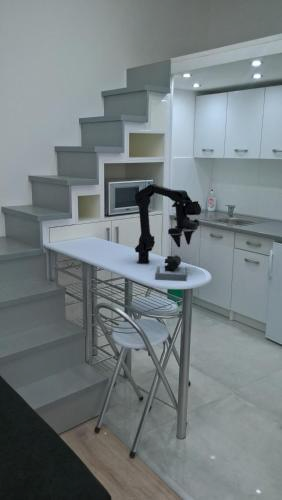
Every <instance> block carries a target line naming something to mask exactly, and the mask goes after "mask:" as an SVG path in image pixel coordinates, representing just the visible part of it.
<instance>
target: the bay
mask: <svg viewBox="0 0 282 500" xmlns="http://www.w3.org/2000/svg"><path fill="white" fill-rule="evenodd" d="M187 273H188V267H184V273H164V272H160V266H157V268H156V270H155V274H154V280H155V281H156V280H158V281H159V280H160V281H179V282H186V281H187V275H188V274H187Z"/></svg>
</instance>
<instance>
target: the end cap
mask: <svg viewBox="0 0 282 500" xmlns="http://www.w3.org/2000/svg"><path fill="white" fill-rule="evenodd" d="M181 263H182V258H181V257H180V255H177V254H175V255H173V256H172V255H167V256H166V258H165V259H164V272H173V273H174V272H175V271H176V270H177V269H178V268H179V266H180V265H181ZM165 264H166V265H165Z"/></svg>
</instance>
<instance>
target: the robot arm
mask: <svg viewBox="0 0 282 500" xmlns="http://www.w3.org/2000/svg"><path fill="white" fill-rule="evenodd" d="M155 194H156V195H160V196H164V197H167V198H169V200H171V201H172V202H173V204H172V205H171V207H172V208H175V217H174V221H176V225H175V226H174V227H171V228H169V229H168V230H167V233H168V235H170V237H171V239H173V241H174V243H175V245H176V246H177V248H181V237H182V236H183V235H184V238H185V241H186V242H185V243H186V245H190V244H191V240H192V236H193V234H194V233H195V232H196V231H197V230H198V228H199V226H200V220H199V219H197V218H196V219H194V220H191V219H190V218H191V217H189V216H200V215H201V212H202V207H201V204H199V201H198V200H194V201H193V200H192V199H191V197H190V196H189V195H188V192H187V191H186V190H183V189H182V190H181V189H172V188H169V187H165V186H161V185H158V184H156V183H151V184H148V185H147V186H145V187H144V188H141V189H140V190H139V191H136V193H134V200H135V204H136V206H137V207H138V209H139V212H138V213H139V222H140V223H139V224H140V236H139V238H138V244H137V245H136V246H135V247H134V251H135V253H138V256H137V257H138V260H137V262H136V264H147V265H148V264H150V262H151V260H150V259H149V257H150V255H149V254H150V253H149V252H152V250H153V248H154V247H155V243H156V242H155V236H154V235H152V234H151V229H150V228H151V225H150V215H149V206H150V204H151V197H153V196H154V195H155Z"/></svg>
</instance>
